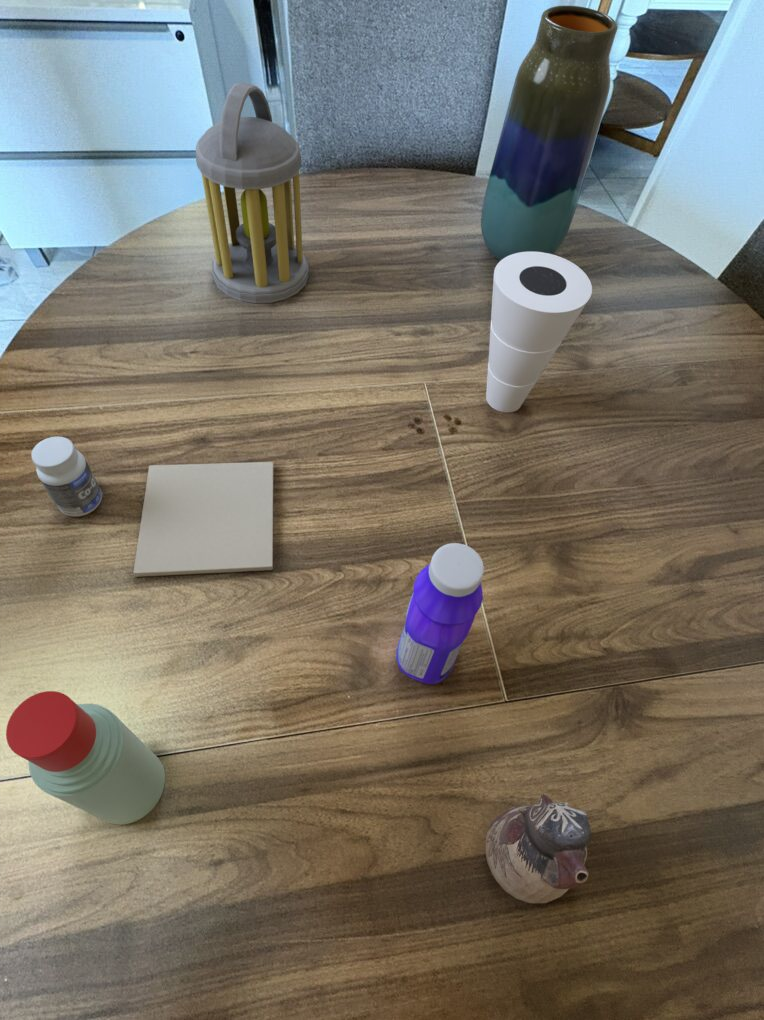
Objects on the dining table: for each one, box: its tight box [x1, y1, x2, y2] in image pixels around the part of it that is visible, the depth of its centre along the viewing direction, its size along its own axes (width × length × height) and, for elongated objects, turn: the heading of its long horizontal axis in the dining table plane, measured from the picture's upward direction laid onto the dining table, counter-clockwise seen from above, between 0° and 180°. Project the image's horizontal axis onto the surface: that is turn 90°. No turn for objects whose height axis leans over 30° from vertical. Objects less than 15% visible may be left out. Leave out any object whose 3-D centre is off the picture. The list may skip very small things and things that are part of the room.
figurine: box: [485, 794, 592, 904], centre depth 46 cm, size 7×7×12 cm
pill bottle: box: [30, 436, 103, 518], centre depth 64 cm, size 5×5×8 cm
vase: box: [480, 5, 618, 262], centre depth 87 cm, size 14×14×31 cm
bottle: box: [396, 542, 485, 685], centre depth 53 cm, size 7×6×17 cm
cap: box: [5, 690, 96, 772], centre depth 38 cm, size 4×4×4 cm
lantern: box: [195, 81, 310, 304], centre depth 82 cm, size 14×14×25 cm
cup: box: [485, 252, 593, 414], centre depth 74 cm, size 11×11×18 cm
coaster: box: [132, 461, 275, 578], centre depth 67 cm, size 14×14×1 cm
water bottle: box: [27, 703, 166, 826], centre depth 44 cm, size 6×6×18 cm
